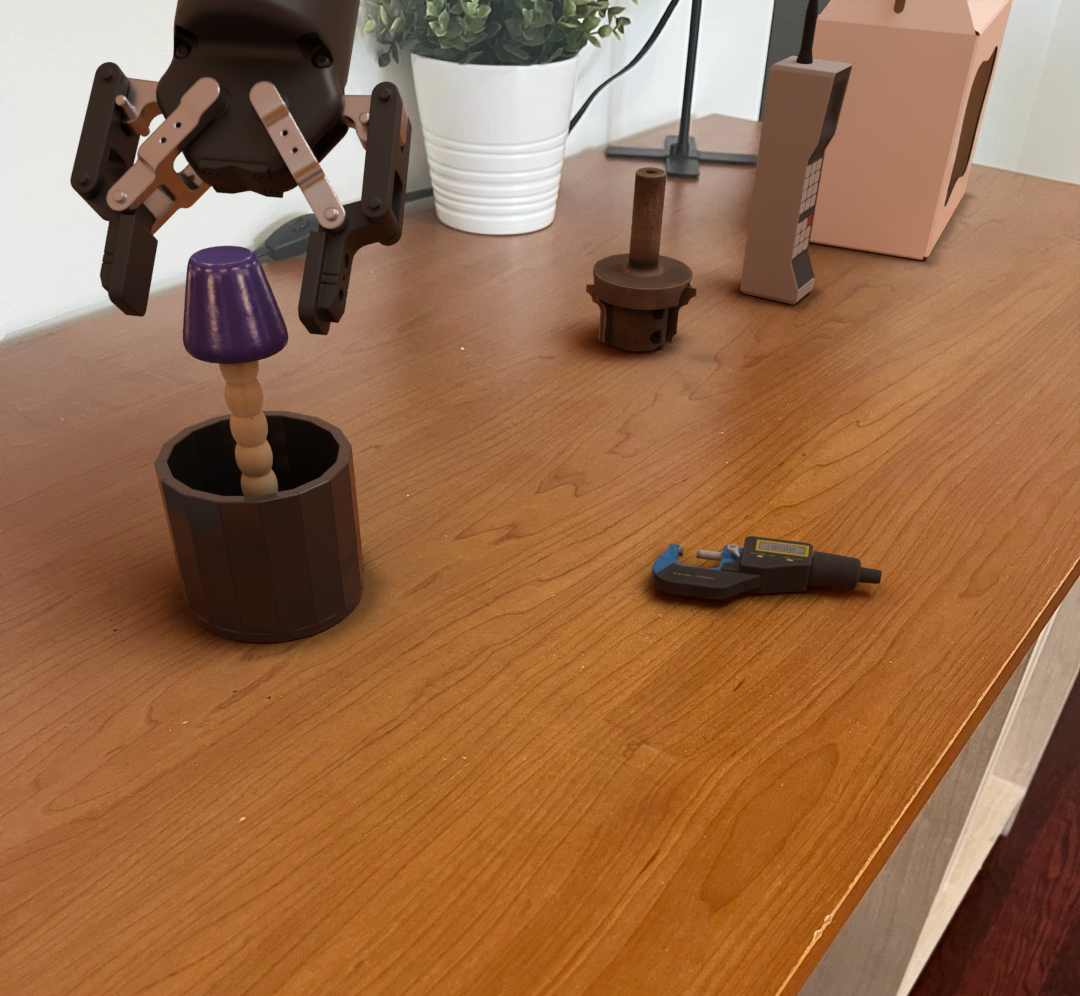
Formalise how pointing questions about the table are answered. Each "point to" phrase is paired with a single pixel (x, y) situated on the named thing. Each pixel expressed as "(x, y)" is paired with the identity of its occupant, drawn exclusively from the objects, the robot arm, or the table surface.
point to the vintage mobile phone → (791, 169)
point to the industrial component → (641, 277)
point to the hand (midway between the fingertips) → (218, 318)
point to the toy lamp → (236, 346)
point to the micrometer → (759, 570)
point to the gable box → (903, 117)
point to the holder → (264, 529)
